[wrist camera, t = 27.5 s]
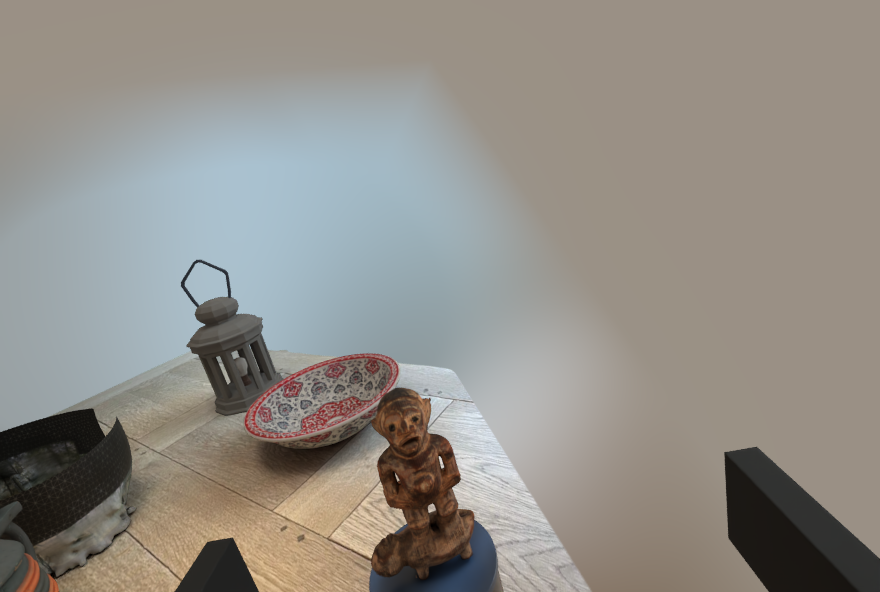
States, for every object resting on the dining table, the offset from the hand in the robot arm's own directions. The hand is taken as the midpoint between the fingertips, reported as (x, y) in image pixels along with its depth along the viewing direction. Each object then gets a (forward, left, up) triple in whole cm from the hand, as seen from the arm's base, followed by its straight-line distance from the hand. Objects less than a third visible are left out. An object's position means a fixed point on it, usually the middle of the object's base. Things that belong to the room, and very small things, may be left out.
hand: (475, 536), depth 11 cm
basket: (+86, -10, -32) cm, 92 cm away
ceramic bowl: (+52, -43, -32) cm, 74 cm away
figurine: (+13, -13, -20) cm, 27 cm away
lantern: (+86, -51, -32) cm, 105 cm away
